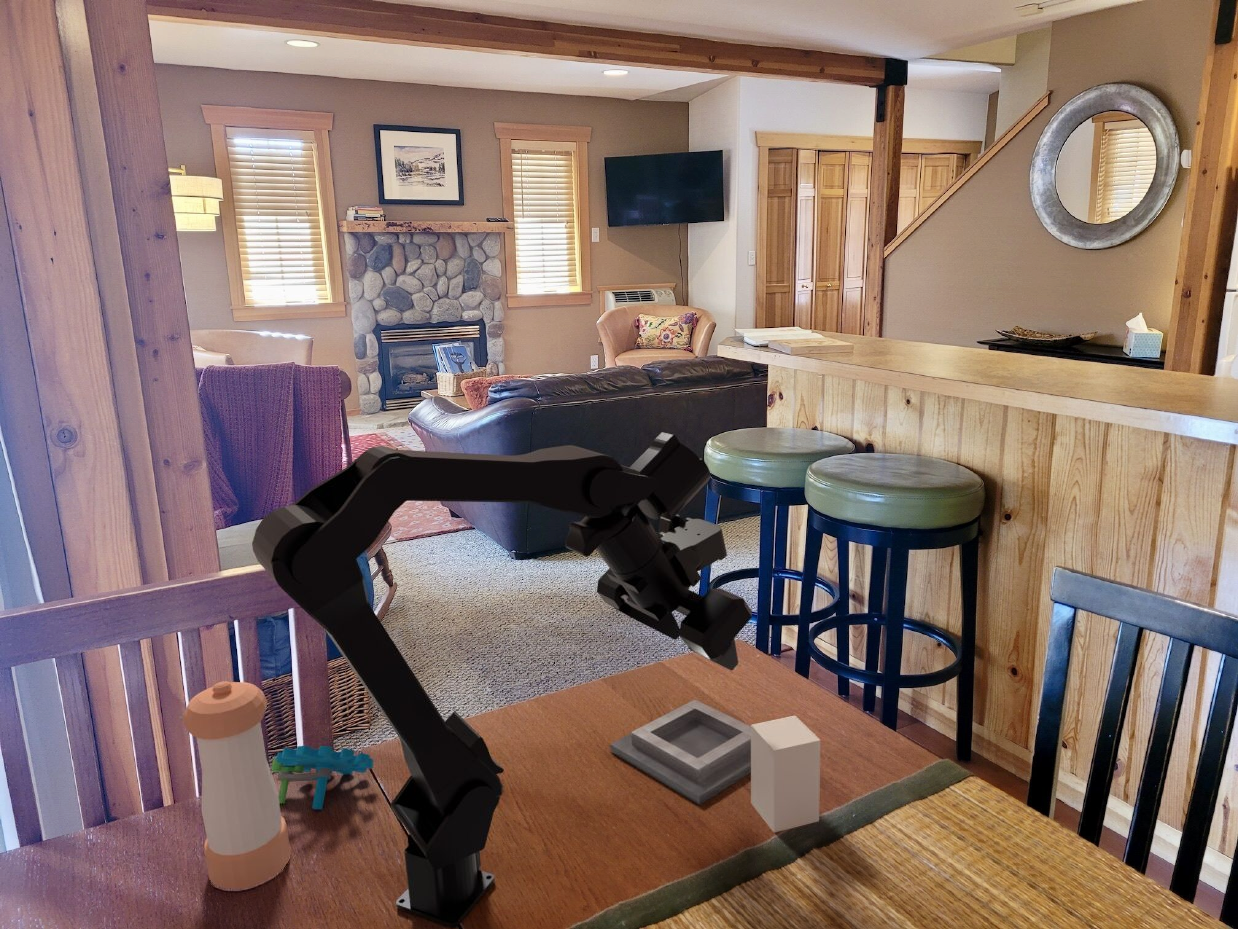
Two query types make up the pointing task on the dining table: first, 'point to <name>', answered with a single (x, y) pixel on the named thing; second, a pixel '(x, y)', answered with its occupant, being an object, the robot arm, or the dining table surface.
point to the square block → (785, 773)
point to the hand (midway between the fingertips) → (705, 650)
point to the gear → (316, 767)
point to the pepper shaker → (237, 786)
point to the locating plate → (690, 750)
